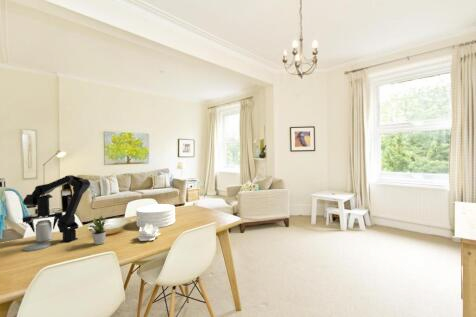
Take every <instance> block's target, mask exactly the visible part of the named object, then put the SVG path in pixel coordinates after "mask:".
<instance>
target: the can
mask: <svg viewBox="0 0 476 317" xmlns="http://www.w3.org/2000/svg"><path fill="white" fill-rule="evenodd" d="M52 230H53V224H52V221H51V220H50V219H44V220H39V221H37V222H36V223H35V241H36V242H37V243H39V242H49V241H50V240H51V239H52V237H53V234H52V233H53V232H52Z"/></svg>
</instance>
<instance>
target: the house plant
mask: <svg viewBox="0 0 476 317" xmlns="http://www.w3.org/2000/svg"><path fill="white" fill-rule="evenodd" d="M90 219H91V220H92V222H91V221H90V220H88V223H91V224H90V225H86V226H85V227H86V228H88V231H89V232H91V231H93V232H92V233H91V235H92V239H93V243H94V245H101V244H102V245H103V244H104V243H105V241H106V234H107V231H106V228H105V227H107V226H108V225H110V224H109V223H108V224H107V225H105V224H106V223H107V222H108V220H109V219H110V218H109V219H108V220H106V219H107V217H106V216H104V215H100V216H99V218H98V219H97V218H92V217H90Z"/></svg>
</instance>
